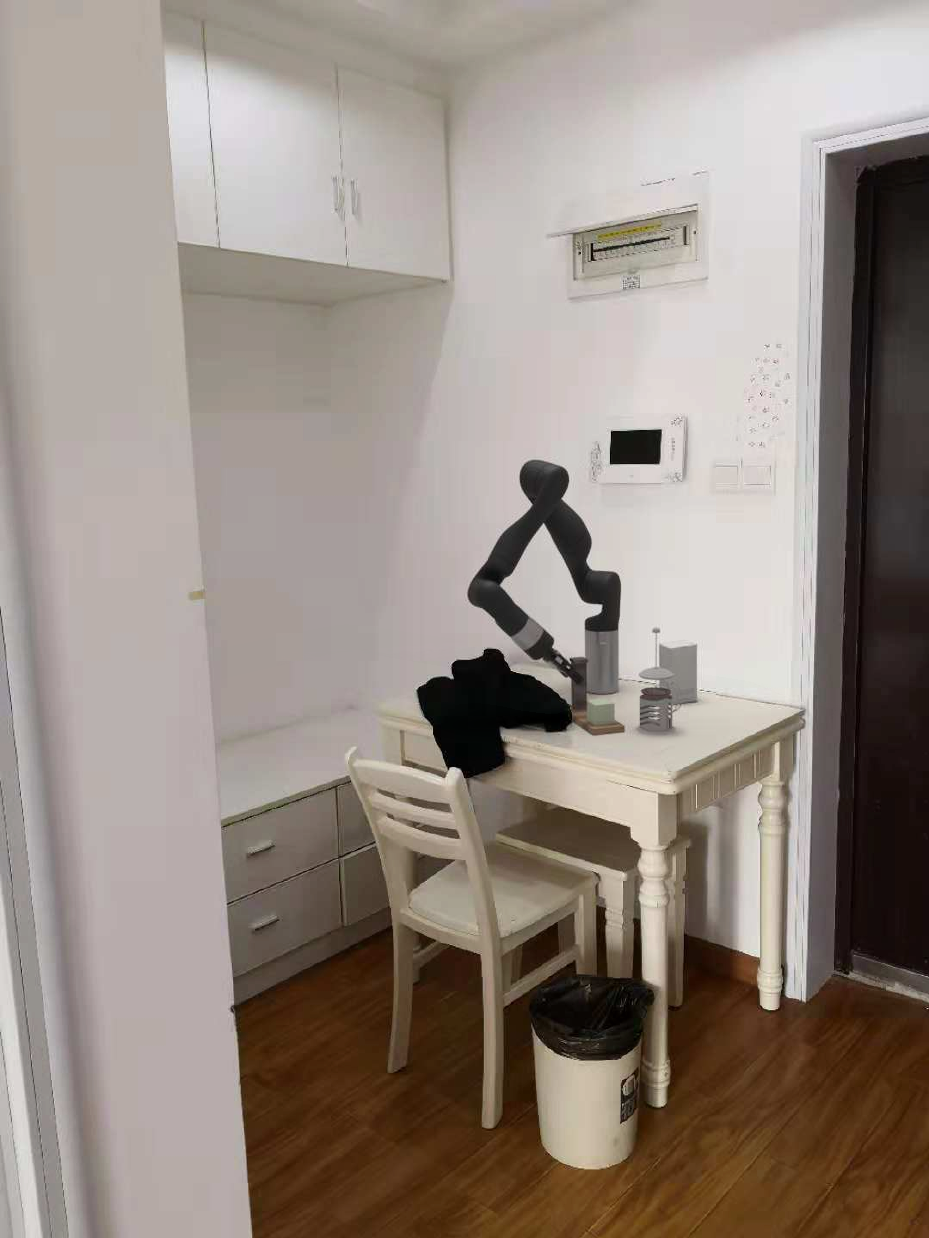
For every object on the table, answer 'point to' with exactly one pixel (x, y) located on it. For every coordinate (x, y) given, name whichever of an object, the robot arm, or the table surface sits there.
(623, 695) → the table surface
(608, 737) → the table surface
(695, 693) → the skincare box
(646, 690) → the french press
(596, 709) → the sage block
